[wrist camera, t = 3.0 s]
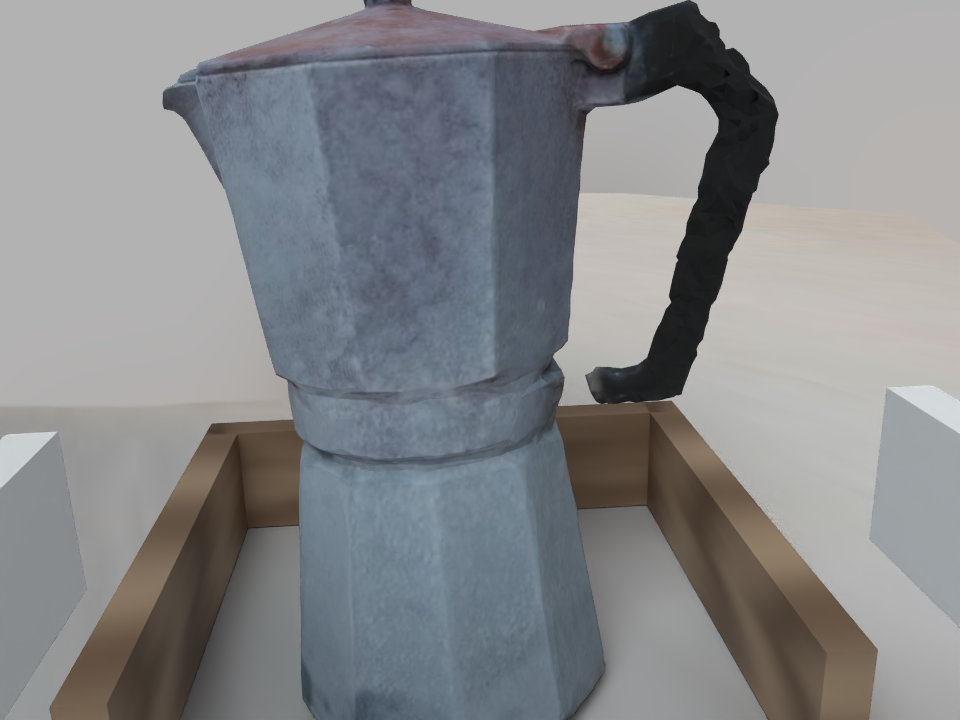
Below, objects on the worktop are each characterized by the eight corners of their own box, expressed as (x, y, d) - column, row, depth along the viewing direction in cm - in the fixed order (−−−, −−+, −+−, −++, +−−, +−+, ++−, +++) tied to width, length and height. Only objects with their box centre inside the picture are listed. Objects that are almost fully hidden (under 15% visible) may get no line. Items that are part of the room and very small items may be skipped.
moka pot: (286, 561, 33) (227, -32, 27) (721, 599, 30) (765, -59, 24) (143, 745, 24) (6, -85, 18) (745, 824, 21) (826, -141, 15)
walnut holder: (859, 791, 22) (877, 650, 20) (79, 854, 20) (49, 707, 19) (667, 490, 37) (671, 400, 36) (223, 515, 36) (211, 423, 35)
